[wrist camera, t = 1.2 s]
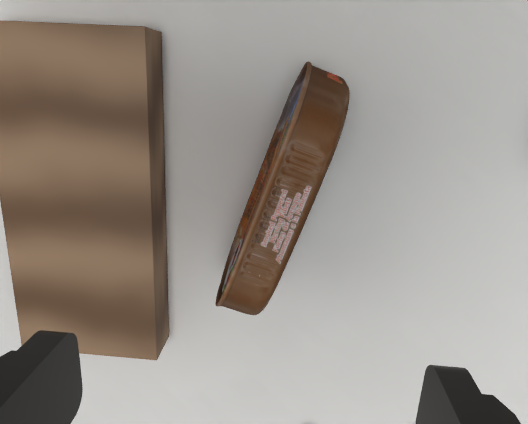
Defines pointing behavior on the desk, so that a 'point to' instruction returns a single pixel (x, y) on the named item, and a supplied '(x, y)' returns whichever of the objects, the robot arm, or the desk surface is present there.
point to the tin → (284, 189)
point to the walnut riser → (85, 183)
